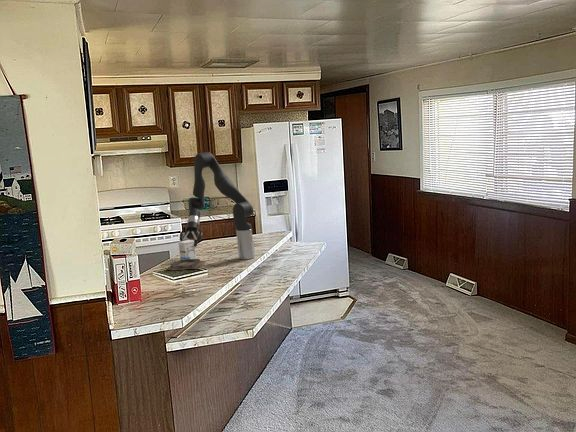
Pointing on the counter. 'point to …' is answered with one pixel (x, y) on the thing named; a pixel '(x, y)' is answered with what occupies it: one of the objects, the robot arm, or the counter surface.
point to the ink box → (187, 249)
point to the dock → (185, 264)
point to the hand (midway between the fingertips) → (189, 246)
